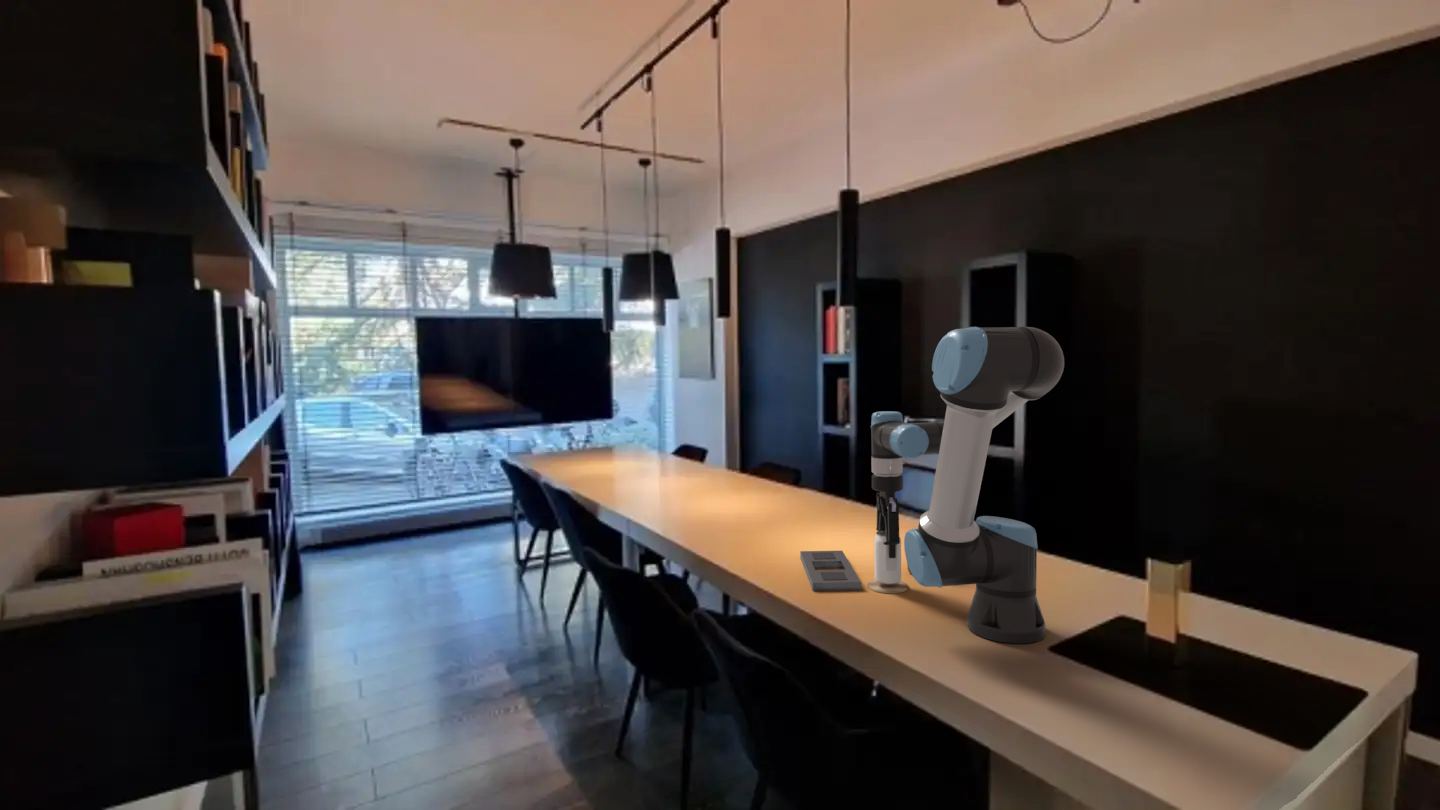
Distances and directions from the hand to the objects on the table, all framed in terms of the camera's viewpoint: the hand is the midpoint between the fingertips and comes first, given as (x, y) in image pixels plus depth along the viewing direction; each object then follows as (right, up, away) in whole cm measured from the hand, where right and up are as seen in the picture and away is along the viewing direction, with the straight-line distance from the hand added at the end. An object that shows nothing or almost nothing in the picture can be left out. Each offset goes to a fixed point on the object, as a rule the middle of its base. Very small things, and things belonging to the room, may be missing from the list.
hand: (887, 565), depth 172 cm
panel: (-13, -5, +13) cm, 19 cm away
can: (0, -4, 0) cm, 4 cm away
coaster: (0, -5, 0) cm, 5 cm away
